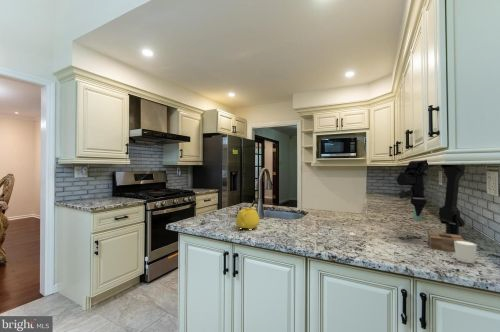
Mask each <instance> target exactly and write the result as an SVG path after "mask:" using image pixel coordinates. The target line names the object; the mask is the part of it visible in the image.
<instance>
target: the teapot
mask: <svg viewBox="0 0 500 332" xmlns="http://www.w3.org/2000/svg"><path fill="white" fill-rule="evenodd" d="M260 223H261V222H260V216H259V214H258V212H257V210H256V209H255V206H251V208H250V207H245V209H244V208H243V209H240V210H239V211H238V213H237V215H236V219H235V225H236V226H237V228H243V229H248V230H249V229H256V228H257V227H258V226H259V225H260ZM255 227H256V228H255Z"/></svg>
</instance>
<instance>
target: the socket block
mask: <svg viewBox="0 0 500 332" xmlns="http://www.w3.org/2000/svg"><path fill="white" fill-rule="evenodd" d="M427 232H428V234H427V237H428V239H427V240H428V241H427V242H428V244H429V248H430V249H432V250H437V251H444V252H451V253H452V252H453V253H455V246H454V241H466V240H465V239H464V238H463V237H462V236H461V235H454V234H445V233H446V232H434V231H427Z"/></svg>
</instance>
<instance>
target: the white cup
mask: <svg viewBox="0 0 500 332" xmlns="http://www.w3.org/2000/svg"><path fill="white" fill-rule="evenodd" d="M454 246H455V252H454V253H455V260H456V261H459V262H462V263H466V264H474V263H476V256H477V248H478V247H477V246H478V244H476V243H474V242H472V241H466V240H465V241H454Z"/></svg>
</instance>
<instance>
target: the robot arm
mask: <svg viewBox="0 0 500 332" xmlns="http://www.w3.org/2000/svg"><path fill="white" fill-rule="evenodd" d="M436 166H437V165H428V163H427V159H424V160H411V161H409V162H408V164H407V166H406V168H405V170H404V171H401V172H400V173H399V174H398V175H397V177H396V183H397V184H398V185H399V186H400V187H401V186H403V187H405V186H409V189H406V190H405V189H403V190H400V191H399V192H398V193H397V195H398V196H399V199H401V200H402V199H404V198H408V197H409V200H410V204H411V205H413V208H414V207H415V211H416V215H417V216H420V214H421V215H422V212H423V210H424V208H425V205H427V199H426V198H425V190H426V188H425V177H427V176H428V174H427V173H426V171H428V170H430V168H431V167H432V168H433V167H436ZM439 167H440V168H441V169H442V170H443V174H444V176H445V177H446V188H445V197H444V205H443V206H442V207H440V206H439V209H438V211H439V212H438V217H439V220H440V223H441V224H445V232H444V233H445V234H454V235H460V227H462V228H463V227H464V226H465V223H466V222H465V220H464V219H463V218H462V217H461V211H460V210H459V208H458V196H459V195H458V194H459V185H460V184H459V183H460V179H461V178H462V177H463V176H464V174H465V170H466V166H465V164H463V165H439ZM460 236H461V235H460Z"/></svg>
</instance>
